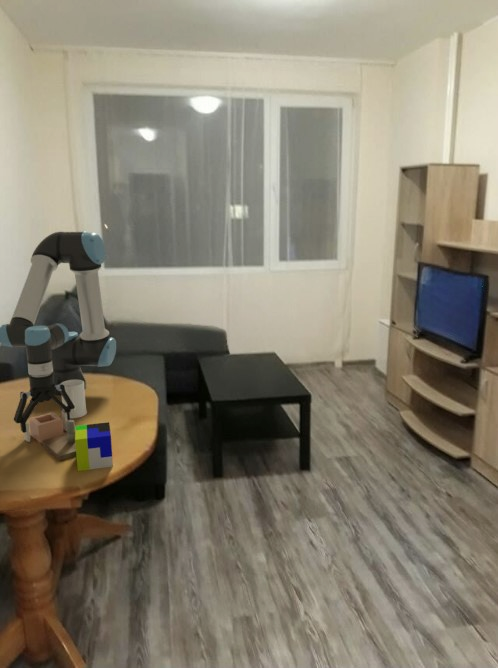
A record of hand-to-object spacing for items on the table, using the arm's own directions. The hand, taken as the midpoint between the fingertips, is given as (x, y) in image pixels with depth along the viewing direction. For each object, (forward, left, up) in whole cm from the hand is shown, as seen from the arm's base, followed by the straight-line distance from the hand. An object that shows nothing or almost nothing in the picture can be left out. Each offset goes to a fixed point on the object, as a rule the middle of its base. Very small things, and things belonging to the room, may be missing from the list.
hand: (47, 435), depth 183 cm
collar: (0, 0, 0) cm, 0 cm away
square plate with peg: (-3, +13, 0) cm, 13 cm away
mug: (-14, -10, 0) cm, 17 cm away
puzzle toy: (-4, +27, -1) cm, 27 cm away
